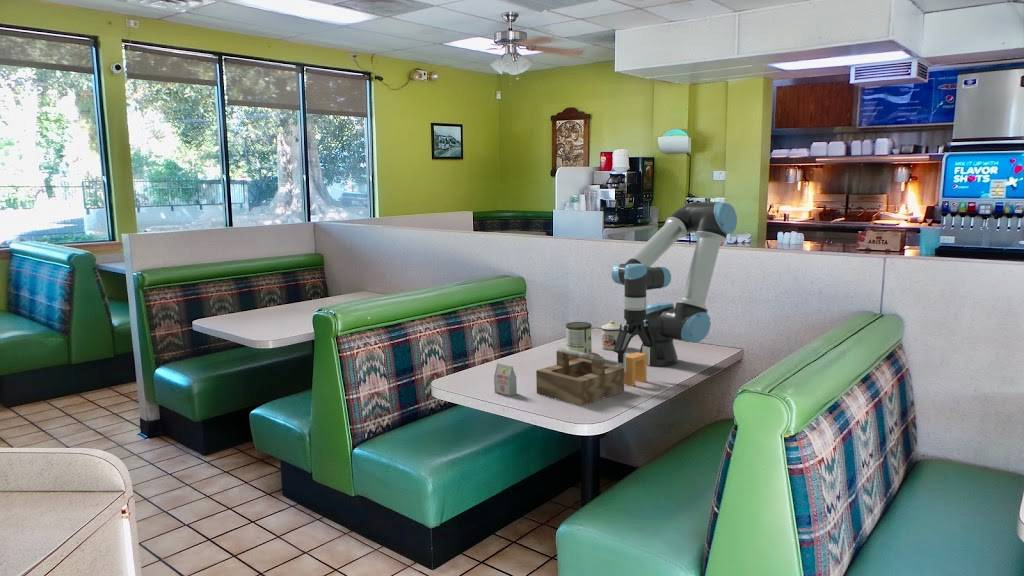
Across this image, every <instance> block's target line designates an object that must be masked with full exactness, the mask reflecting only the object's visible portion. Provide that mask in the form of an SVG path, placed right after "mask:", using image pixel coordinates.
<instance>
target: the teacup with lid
mask: <svg viewBox="0 0 1024 576" xmlns="http://www.w3.org/2000/svg"><path fill="white" fill-rule="evenodd" d="M620 325H621V324H618V323H616V322H615V320H610V321H609V322H608V323H605V324H604V325H602V326H601V348H602V349H603V348H604V349H603V350H606V349H608V350H607V351H614V347H615V344H616V340H617V337H618V334H619V331H620ZM617 349H618V348H617Z"/></svg>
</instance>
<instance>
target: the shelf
mask: <svg viewBox="0 0 1024 576" xmlns="http://www.w3.org/2000/svg"><path fill="white" fill-rule="evenodd" d="M569 356H574V357H578V359H575V360H571V361H569ZM582 358H583V359H582ZM586 359H587V360H586ZM591 360H592V361H591ZM535 372H536V376H535V377H536V394H538V395H542V396H544V395H545V397H548V396H549V398H551V397H552V398H551V399H555V398H556V399H555V400H558V399H559V401H562V402H566V403H568V404H572V403H573V405H575V404H576V406H580V407H582V405H583V406H585V405H584V404H586V405H588V404H591V403H594V402H596V401H595V400H597V401H599V400H598V399H600V400H602V399H604V398H603V397H605V398H607V397H606V396H608V397H610V396H609V395H611V396H613V395H612V394H614V395H616V394H615V393H617V394H619V393H621V391H622V392H624V391H625V384H624V368H622V367H618V365H612V364H607V363H606V358H605V357H604V356H601V355H600V356H597V355H592V354H588V353H583V352H579V351H574V350H569V349H566V348H564V347H558V348H557V350H556V364H554V365H550V366H547V367H543V368H540V369H536V371H535ZM618 392H619V393H618ZM601 398H602V399H601ZM593 401H594V402H593ZM590 402H591V403H590ZM587 403H588V404H587Z"/></svg>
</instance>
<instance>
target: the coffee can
mask: <svg viewBox="0 0 1024 576" xmlns="http://www.w3.org/2000/svg"><path fill="white" fill-rule="evenodd" d="M565 338H566V341H565V343H566V348H565V349H569V350H574V351H579V352H583V353H589V352H592V350H593V349H592V323H590V322H587V321H572V322H568V323H565Z"/></svg>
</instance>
